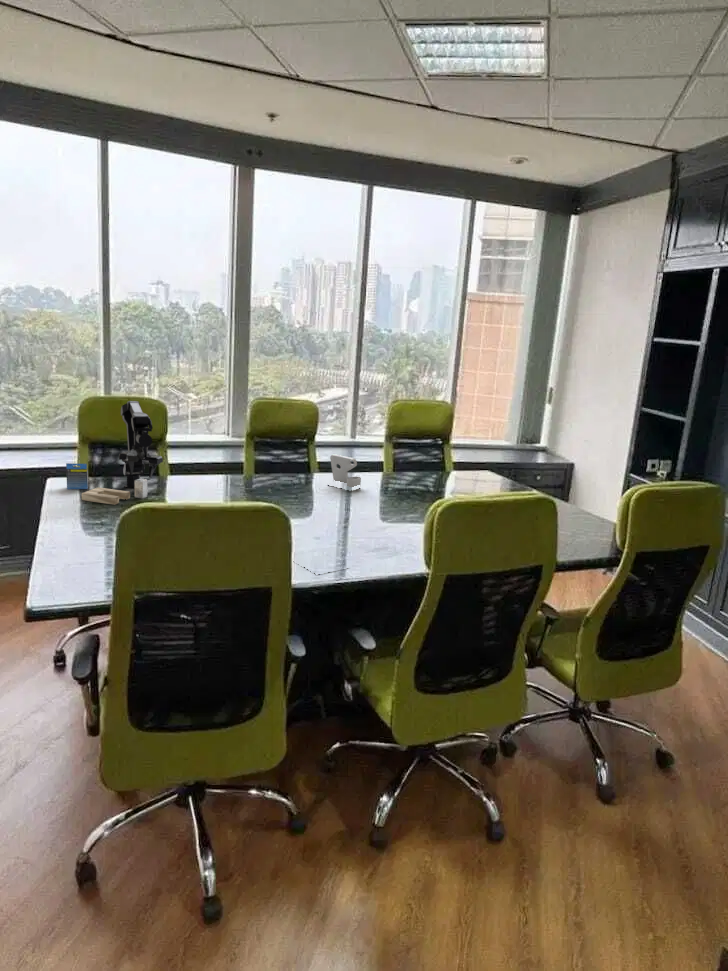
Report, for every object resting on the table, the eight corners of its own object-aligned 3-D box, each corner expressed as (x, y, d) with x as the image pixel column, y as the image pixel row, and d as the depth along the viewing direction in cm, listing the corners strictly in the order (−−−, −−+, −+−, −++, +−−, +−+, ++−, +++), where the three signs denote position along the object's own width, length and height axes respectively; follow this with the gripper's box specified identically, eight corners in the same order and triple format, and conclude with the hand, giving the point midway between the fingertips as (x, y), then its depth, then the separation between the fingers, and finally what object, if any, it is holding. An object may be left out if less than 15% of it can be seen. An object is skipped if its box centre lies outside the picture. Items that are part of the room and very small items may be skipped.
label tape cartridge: (88, 487, 283) (88, 461, 280) (87, 489, 280) (87, 463, 277) (67, 487, 280) (67, 461, 277) (66, 489, 277) (65, 463, 274)
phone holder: (362, 489, 326) (365, 456, 322) (351, 492, 318) (354, 458, 314) (336, 482, 335) (339, 451, 331) (325, 485, 327) (328, 453, 323)
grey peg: (139, 495, 277) (139, 478, 275) (147, 496, 277) (147, 479, 275) (134, 497, 273) (134, 480, 272) (142, 498, 273) (142, 481, 271)
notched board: (98, 493, 274) (97, 487, 273) (130, 498, 272) (130, 491, 271) (81, 500, 263) (81, 493, 262) (115, 504, 260) (115, 498, 259)
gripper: (111, 443, 263) (111, 477, 267) (150, 448, 260) (150, 482, 264) (125, 439, 273) (125, 472, 277) (163, 444, 271) (163, 477, 274)
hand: (140, 476), depth 273 cm, fingers open, 9 cm apart
